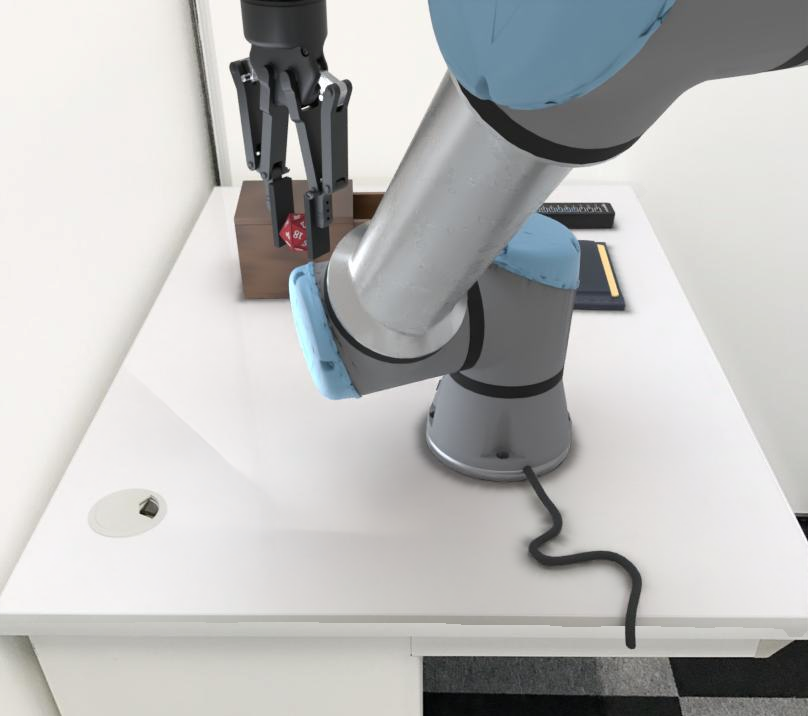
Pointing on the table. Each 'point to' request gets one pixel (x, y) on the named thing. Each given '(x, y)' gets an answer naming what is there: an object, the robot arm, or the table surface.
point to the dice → (295, 232)
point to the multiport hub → (580, 214)
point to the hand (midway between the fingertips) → (302, 248)
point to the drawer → (365, 206)
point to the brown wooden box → (254, 234)
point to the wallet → (597, 279)
